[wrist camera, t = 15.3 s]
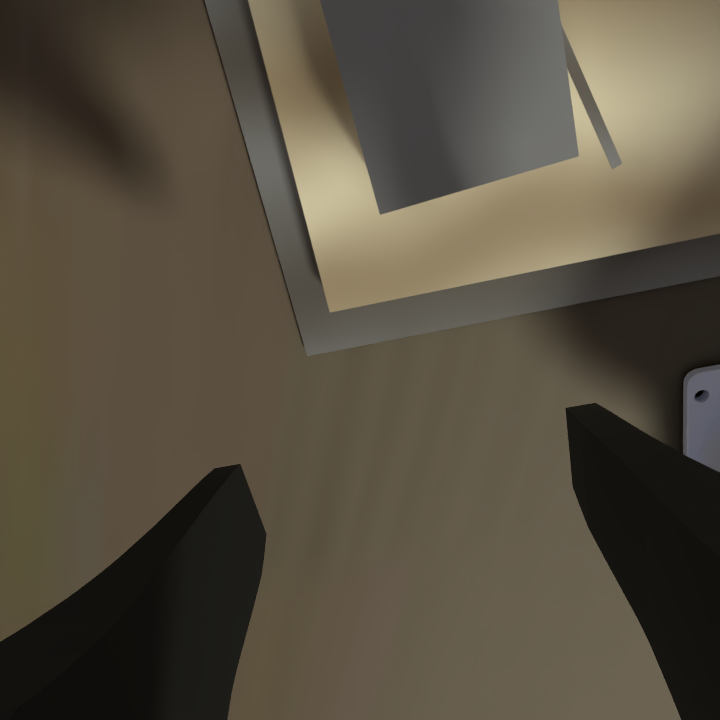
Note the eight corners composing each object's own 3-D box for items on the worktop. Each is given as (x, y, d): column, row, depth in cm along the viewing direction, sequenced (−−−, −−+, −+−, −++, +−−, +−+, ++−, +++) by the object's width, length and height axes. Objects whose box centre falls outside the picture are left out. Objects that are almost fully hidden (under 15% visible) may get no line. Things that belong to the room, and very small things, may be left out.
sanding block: (530, 141, 17) (579, 156, 12) (380, 186, 17) (380, 215, 13) (472, -208, 13) (511, -341, 9) (292, -136, 14) (255, -231, 10)
